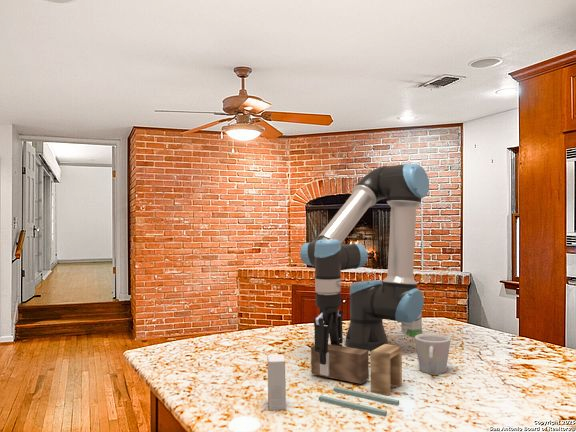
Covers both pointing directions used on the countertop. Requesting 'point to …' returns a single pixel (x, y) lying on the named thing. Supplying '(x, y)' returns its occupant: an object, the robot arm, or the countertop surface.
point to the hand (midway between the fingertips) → (329, 371)
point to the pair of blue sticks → (358, 406)
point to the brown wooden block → (343, 363)
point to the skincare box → (276, 382)
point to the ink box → (412, 327)
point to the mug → (432, 352)
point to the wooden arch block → (385, 368)
